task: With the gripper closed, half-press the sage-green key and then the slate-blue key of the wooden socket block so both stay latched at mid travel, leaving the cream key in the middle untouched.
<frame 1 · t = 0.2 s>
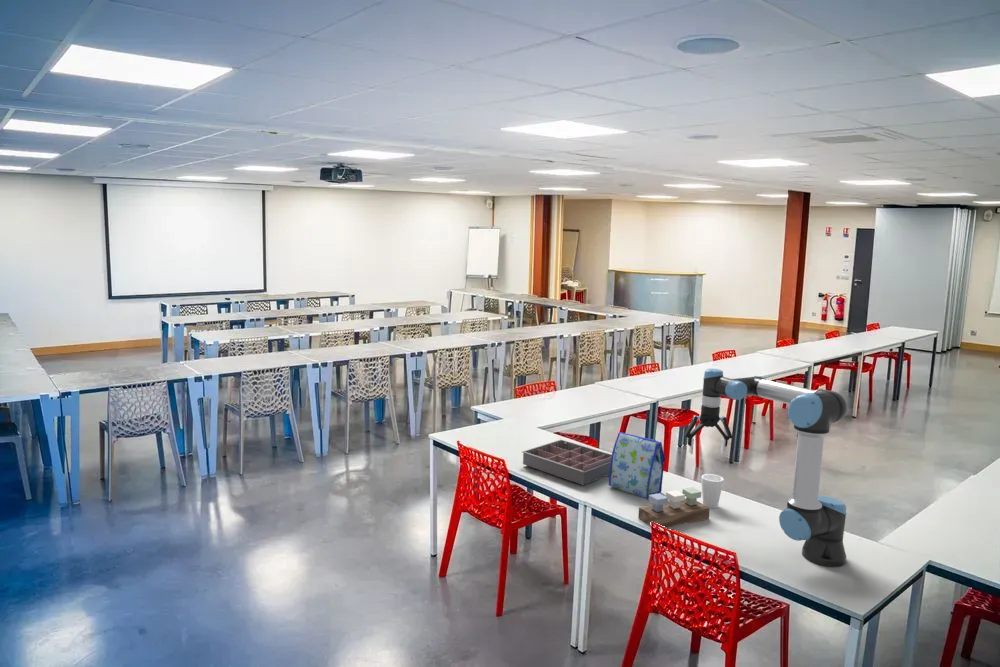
hand: (706, 453, 291), 27 cm above the table, fingers open, 13 cm apart
wooden socket block: (673, 518, 289), on the table
slate key: (658, 503, 284), point 8 cm above the table, slide at 0.0 cm
cream key: (675, 500, 288), point 8 cm above the table, slide at 0.0 cm
foam cup: (710, 505, 304), on the table
organizer tray: (571, 470, 346), on the table
sage key: (691, 497, 292), point 8 cm above the table, slide at 0.0 cm
lunch bag: (635, 490, 321), on the table
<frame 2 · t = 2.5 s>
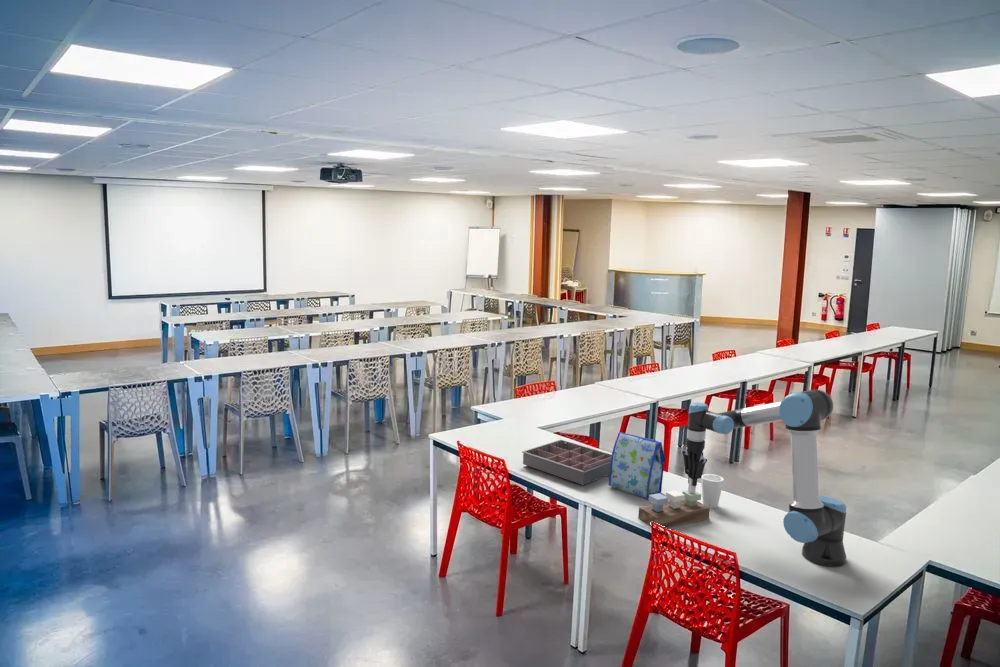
hand: (691, 492, 292), 10 cm above the table, fingers closed
sage key: (691, 499, 292), point 7 cm above the table, slide at 1.1 cm, touching gripper
everything else where it was.
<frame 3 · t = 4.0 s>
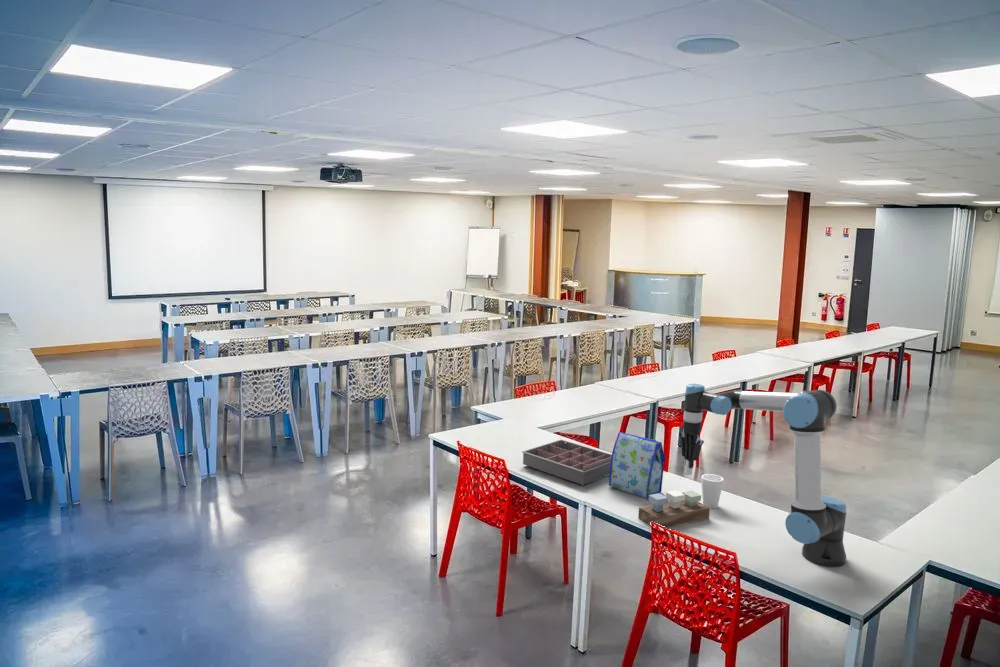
hand: (688, 474, 289), 19 cm above the table, fingers closed
sage key: (691, 500, 292), point 7 cm above the table, slide at 1.5 cm
everything else where it was.
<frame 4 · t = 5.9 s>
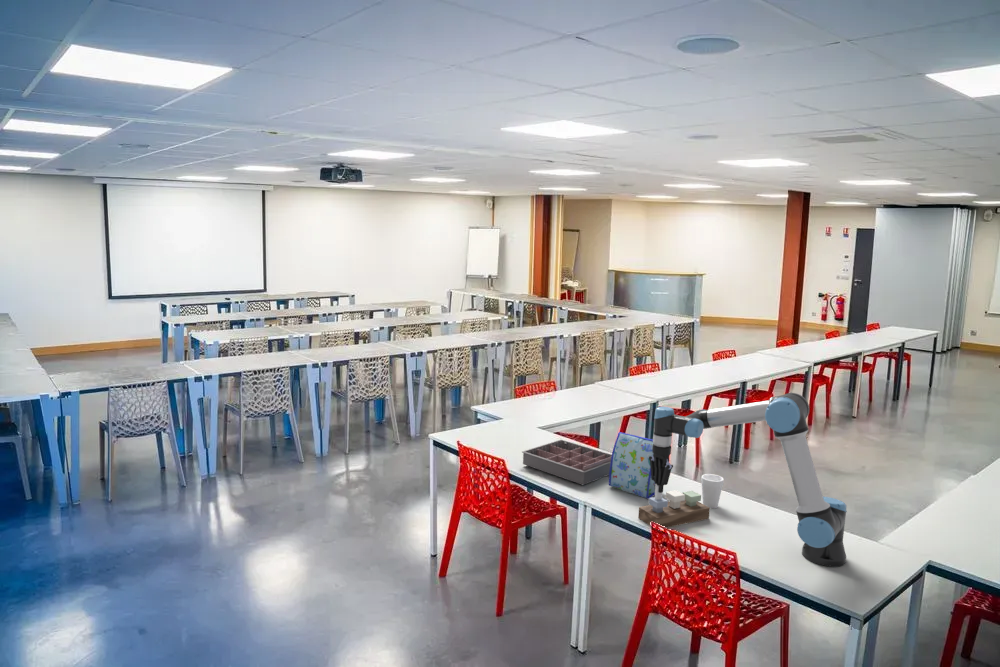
hand: (658, 498, 284), 10 cm above the table, fingers closed
slate key: (657, 506, 284), point 7 cm above the table, slide at 1.3 cm, touching gripper
everything else where it was.
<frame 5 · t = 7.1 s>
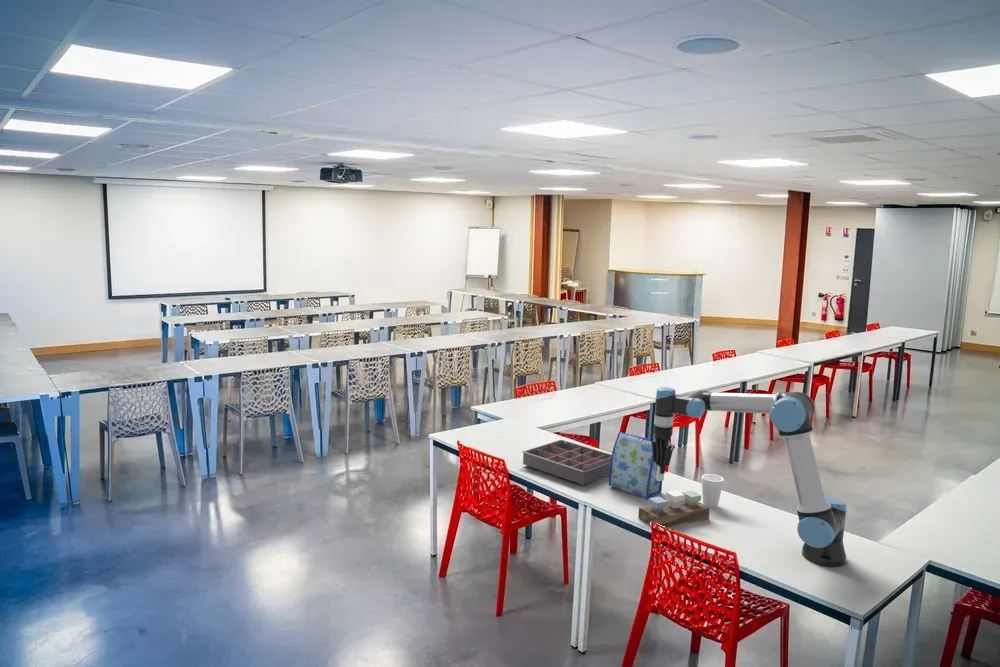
hand: (659, 480, 282), 18 cm above the table, fingers closed
slate key: (657, 506, 284), point 7 cm above the table, slide at 1.5 cm
everything else where it was.
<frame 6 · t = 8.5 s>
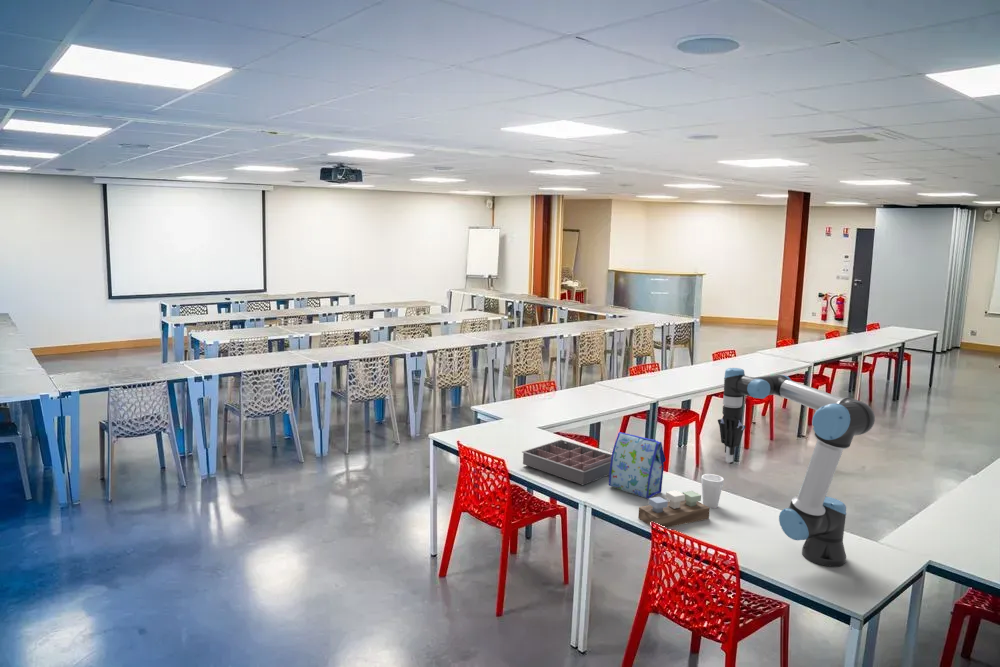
hand: (729, 461, 281), 27 cm above the table, fingers closed
nothing on the table moved.
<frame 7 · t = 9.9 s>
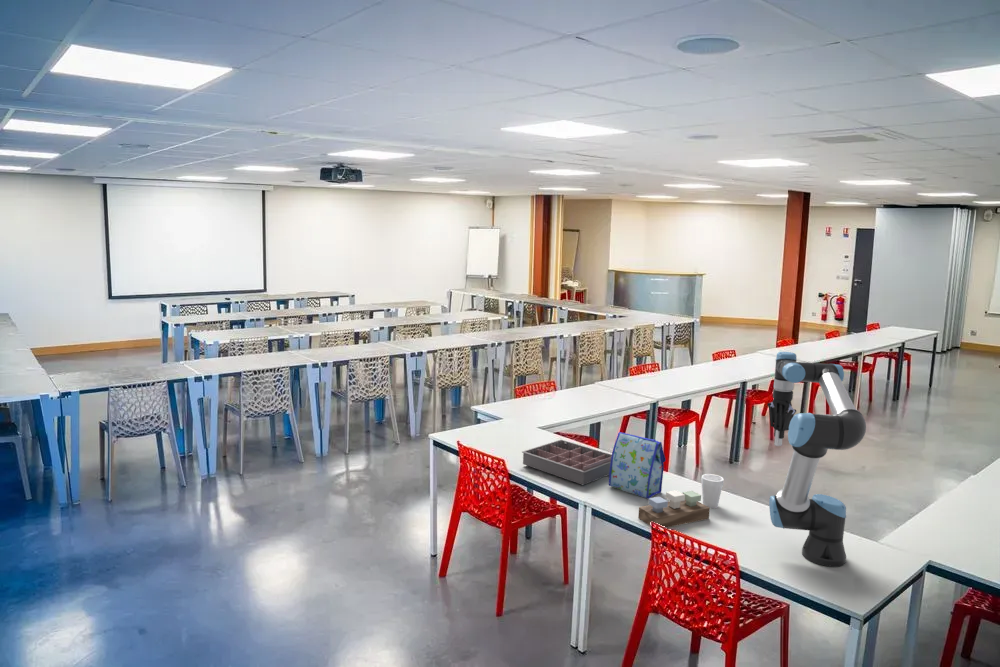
hand: (778, 445, 281), 34 cm above the table, fingers closed
nothing on the table moved.
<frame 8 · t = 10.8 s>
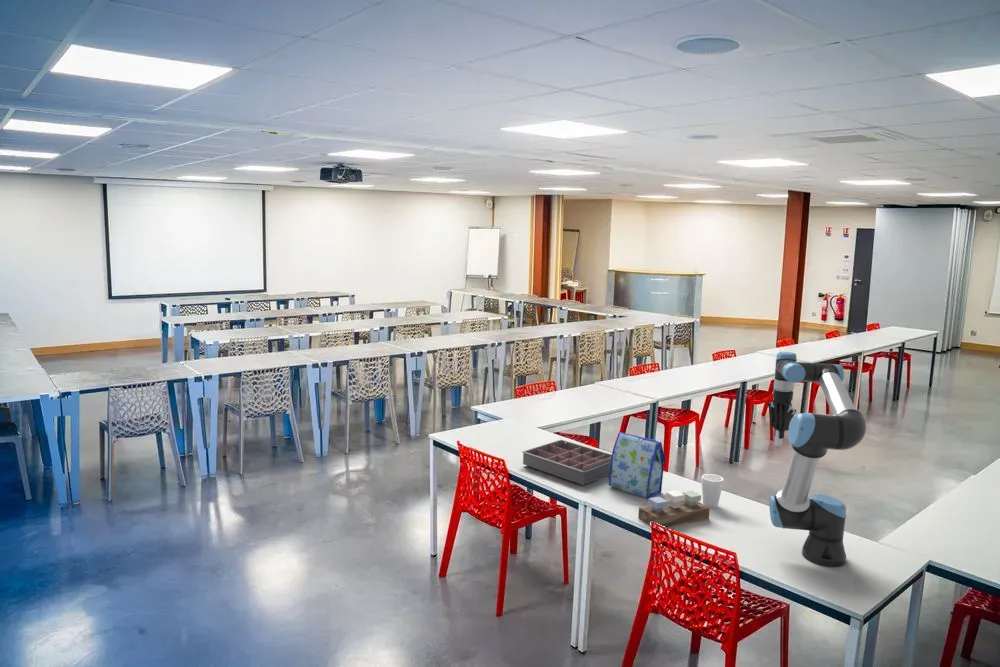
hand: (778, 445, 281), 34 cm above the table, fingers closed
nothing on the table moved.
at the end: sage key slide at 1.5 cm; slate key slide at 1.5 cm; cream key slide at 0.0 cm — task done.
